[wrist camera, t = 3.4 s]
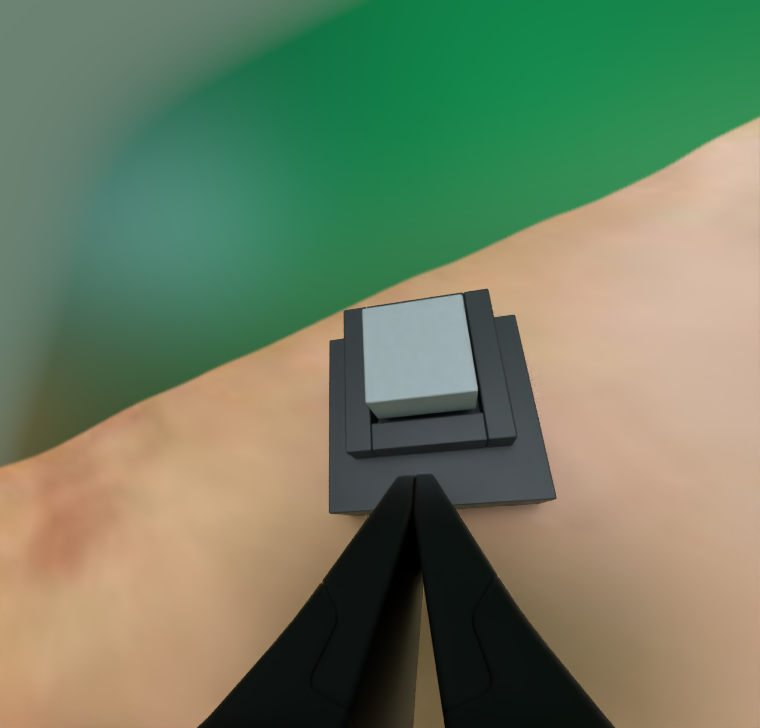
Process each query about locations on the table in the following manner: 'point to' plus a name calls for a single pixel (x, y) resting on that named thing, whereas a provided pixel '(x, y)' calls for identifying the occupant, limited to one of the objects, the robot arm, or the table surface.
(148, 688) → the table surface
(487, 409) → the stepped grey pedestal
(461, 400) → the pad
